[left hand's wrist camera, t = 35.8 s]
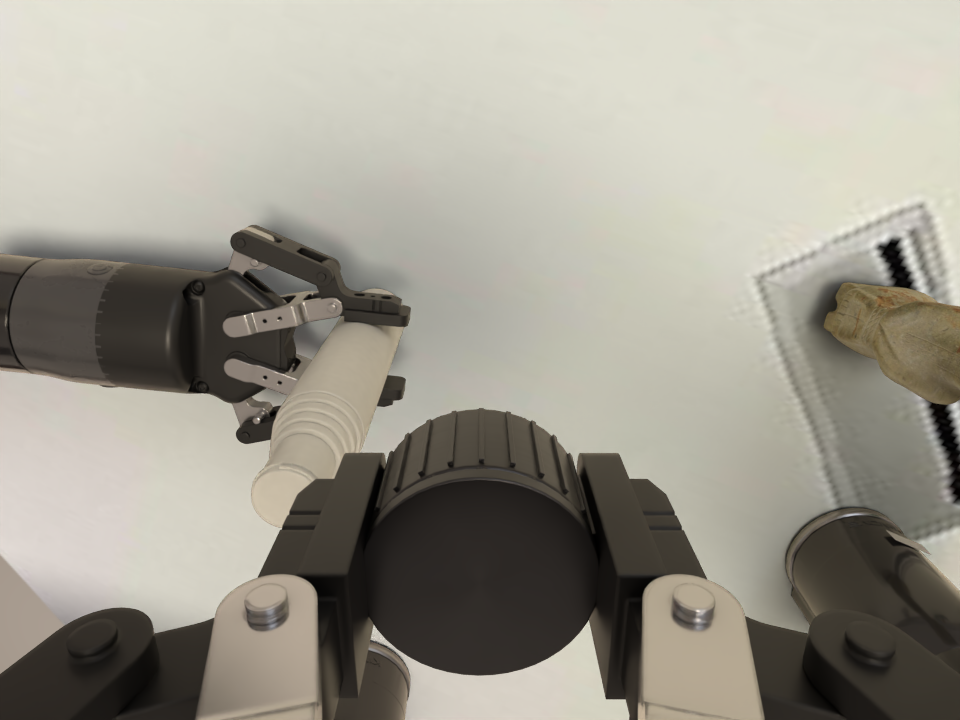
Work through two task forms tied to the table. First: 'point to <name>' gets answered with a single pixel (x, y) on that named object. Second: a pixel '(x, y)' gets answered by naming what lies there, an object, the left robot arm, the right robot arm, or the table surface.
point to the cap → (480, 545)
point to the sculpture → (902, 336)
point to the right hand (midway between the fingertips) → (405, 353)
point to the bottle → (325, 413)
